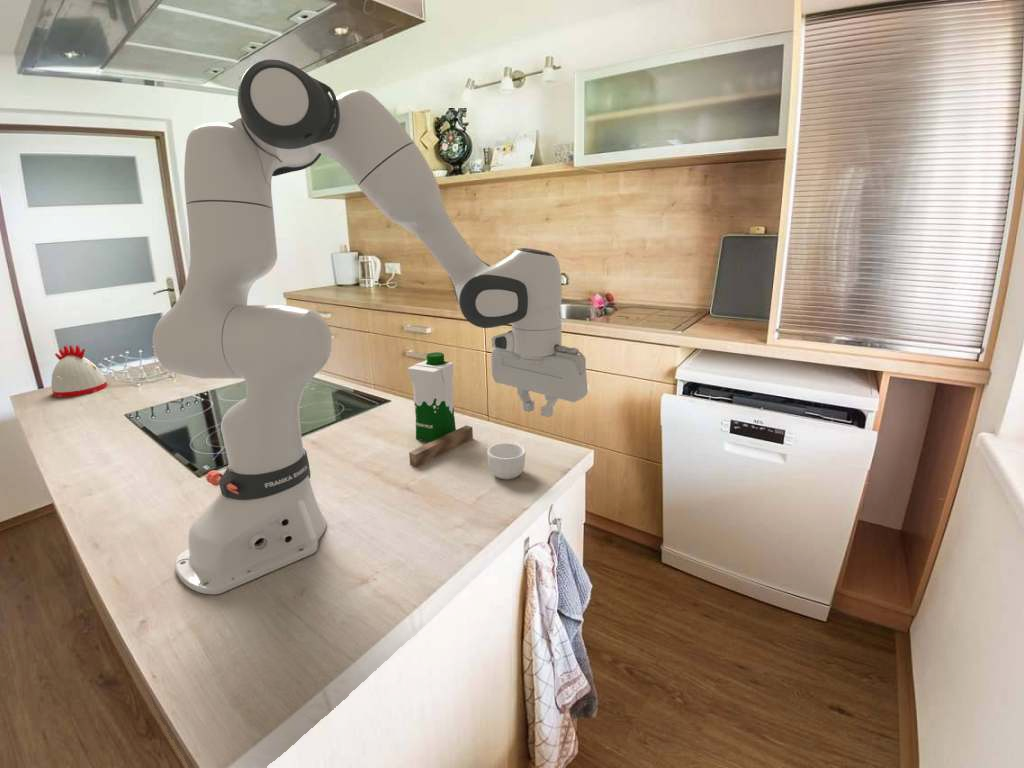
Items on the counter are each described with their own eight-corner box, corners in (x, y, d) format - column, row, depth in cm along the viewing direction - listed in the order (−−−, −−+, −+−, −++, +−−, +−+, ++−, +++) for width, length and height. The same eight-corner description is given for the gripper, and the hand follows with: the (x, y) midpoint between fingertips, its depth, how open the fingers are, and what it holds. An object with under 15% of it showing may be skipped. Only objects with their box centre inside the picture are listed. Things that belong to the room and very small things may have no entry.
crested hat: (94, 394, 163) (80, 349, 159) (43, 399, 160) (28, 352, 156) (115, 381, 176) (103, 339, 171) (69, 385, 173) (55, 342, 169)
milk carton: (461, 432, 127) (456, 353, 121) (440, 446, 119) (433, 363, 113) (432, 426, 131) (426, 350, 125) (409, 440, 123) (402, 359, 117)
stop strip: (416, 467, 110) (415, 454, 109) (410, 464, 111) (408, 452, 110) (473, 438, 123) (472, 427, 122) (466, 436, 124) (466, 425, 123)
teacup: (533, 473, 106) (533, 449, 104) (507, 487, 101) (506, 462, 99) (500, 459, 112) (499, 436, 111) (473, 471, 107) (472, 448, 106)
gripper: (595, 346, 88) (593, 421, 92) (507, 331, 101) (509, 397, 105) (574, 353, 83) (573, 432, 88) (484, 337, 97) (487, 406, 101)
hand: (537, 413), depth 97 cm, fingers open, 3 cm apart
